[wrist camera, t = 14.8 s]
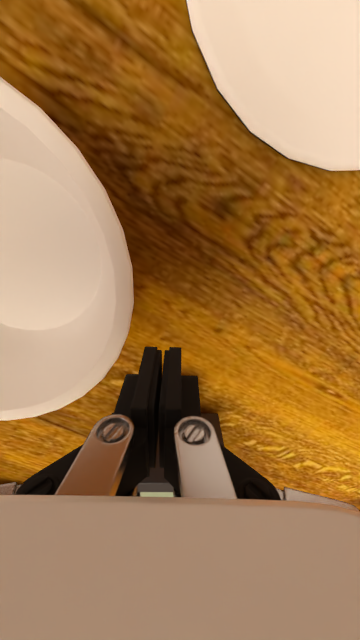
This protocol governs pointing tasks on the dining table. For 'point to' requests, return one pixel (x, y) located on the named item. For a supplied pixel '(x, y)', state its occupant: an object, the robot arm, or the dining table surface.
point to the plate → (288, 72)
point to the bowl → (55, 266)
